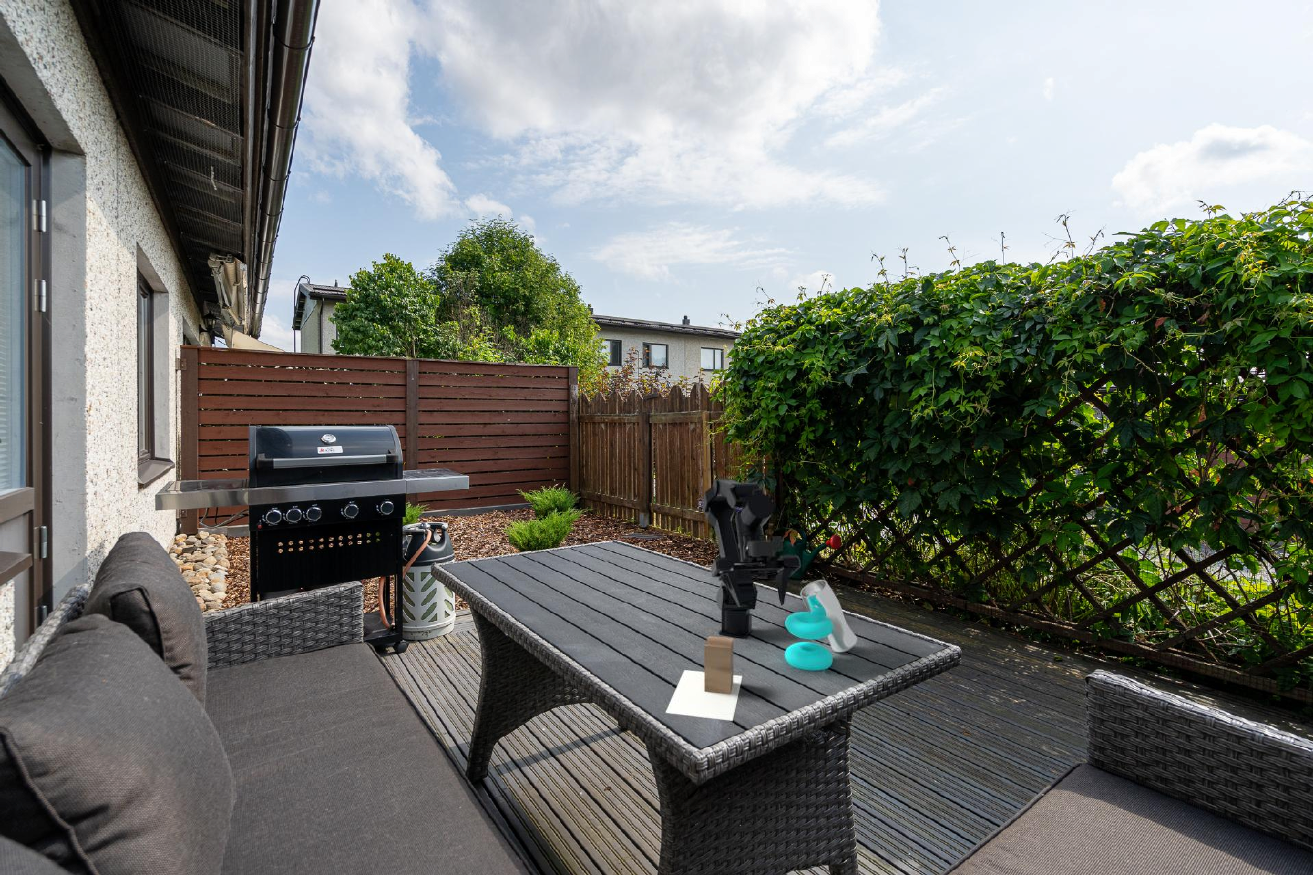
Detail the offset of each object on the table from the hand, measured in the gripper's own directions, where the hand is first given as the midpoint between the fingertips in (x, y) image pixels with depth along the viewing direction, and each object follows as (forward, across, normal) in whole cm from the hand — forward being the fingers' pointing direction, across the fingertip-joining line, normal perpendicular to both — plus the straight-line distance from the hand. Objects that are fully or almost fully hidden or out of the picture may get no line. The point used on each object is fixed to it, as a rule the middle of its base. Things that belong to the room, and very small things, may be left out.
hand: (761, 605), depth 127 cm
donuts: (+11, +11, +8) cm, 17 cm away
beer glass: (+7, +22, +12) cm, 26 cm away
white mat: (+17, -14, -2) cm, 22 cm away
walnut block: (+15, -11, 0) cm, 19 cm away
